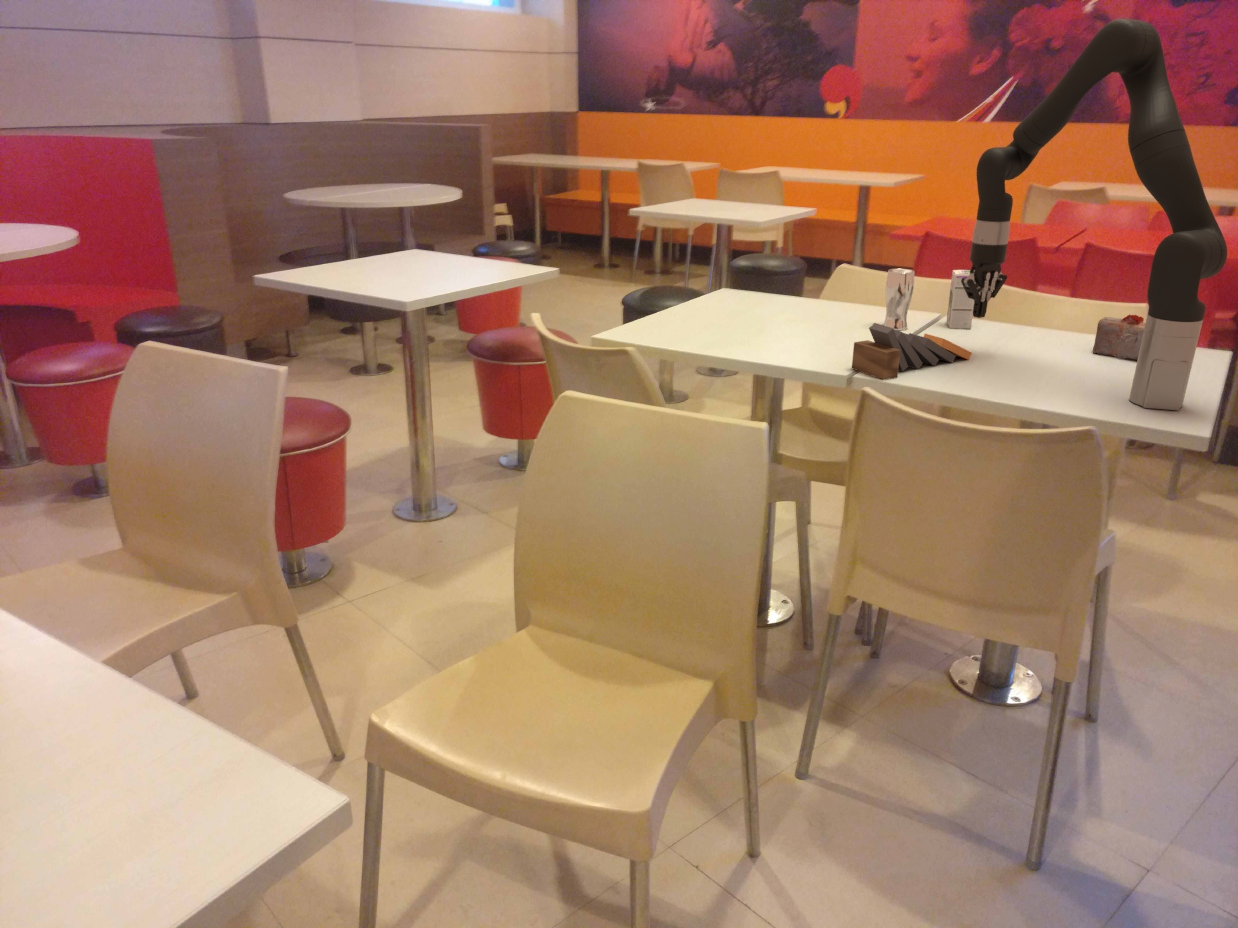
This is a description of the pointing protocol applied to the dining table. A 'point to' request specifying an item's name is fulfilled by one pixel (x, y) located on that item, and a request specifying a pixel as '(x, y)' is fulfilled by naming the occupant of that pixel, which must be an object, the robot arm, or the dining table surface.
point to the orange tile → (950, 347)
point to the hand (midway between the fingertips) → (978, 317)
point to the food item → (1119, 337)
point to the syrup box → (959, 303)
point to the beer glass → (898, 297)
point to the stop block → (876, 359)
